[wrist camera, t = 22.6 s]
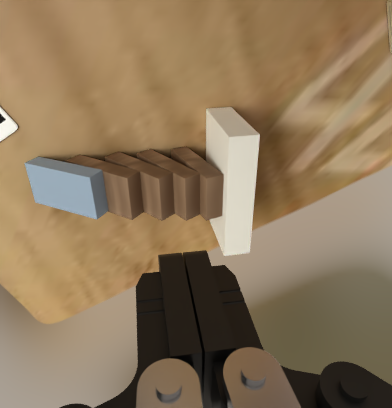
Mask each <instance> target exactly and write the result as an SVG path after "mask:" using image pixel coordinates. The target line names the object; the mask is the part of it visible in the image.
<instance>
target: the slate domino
mask: <svg viewBox="0 0 392 408" xmlns="http://www.w3.org/2000/svg"><path fill="white" fill-rule="evenodd" d="M25 166H26V170H27V174H28V177H29V181H30V184H31V188H32V192H33V195H34V199H35V202H36V203H40V204H43V205H47V206H50V207H54V208H58V209H61V210H65V211H69V212H72V213H76V214H79V215H83V216H87V217H90V218H94V219H98V218H100V217H101V216H102V215H104V214H105V213H106V212H107V211H109V210H108V204H107V197H106V191H105V185H104V178H103V172H102V170H100V169H95V168H91V167H86V166H81V165H76V164H72V163H67V162H62V161H57V160H53V159H48V158H43V157H37V158H34V159H32V160H30V161H28V162H26V163H25Z"/></svg>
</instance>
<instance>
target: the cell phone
mask: <svg viewBox="0 0 392 408" xmlns="http://www.w3.org/2000/svg"><path fill="white" fill-rule="evenodd" d="M17 129H18V125H17V124H16V122H15V121H14V120H13V119H12V118H11V117H10V116H9V115H8V114H7V113H6V112H5V111H4V110H3V109H2V108H1V106H0V142H1V141H2V140H3V139H5V138H6V137H8V136H9V135H11V134H12V133H14V132H15V131H16V130H17Z"/></svg>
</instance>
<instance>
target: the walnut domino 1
mask: <svg viewBox="0 0 392 408" xmlns="http://www.w3.org/2000/svg"><path fill="white" fill-rule="evenodd" d="M66 162H67V163H72V164H76V165H81V166H86V167H91V168H95V169H100V170H102V172H103V178H104V185H105V191H106V197H107V204H108V210H109V211H108V212H111V213H114V214H117V215H120V216H122V217H125V218H128V219H131V220H133V219H134V218H136V217H137V216H138V215H140V214H141V213H143V212H144V209H143V199H142V189H141V179H140V171H138V170H134V169H130V168H127V167H123V166H119V165H116V164H112V163H108V162H105V161H101V160H97V159H94V158H90V157H87V156H83V155H77V156H75V157H73V158H70V159H68V160H66Z"/></svg>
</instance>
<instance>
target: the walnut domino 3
mask: <svg viewBox="0 0 392 408" xmlns="http://www.w3.org/2000/svg"><path fill="white" fill-rule="evenodd" d="M137 159H139V160H141V161H144V162H147V163H149V164H152V165H154V166H157V167H160V168H162V169H165V170H168V171H170V172H173V187H174V209H175V214H177V215H178V216H180V217H181V218H183V219H184V220H189V219H191V218H193V217H195V216H197V215H199V214H200V173H199V172H197V171H194V170H192V169H190V168H188V167H186V166H184V165H182V164H180V163H178V162H176V161H174V160H172V159H170V158H168V157H166V156H164V155H162V154H160V153H158V152H156V151H154V150H151V149H150V150H146V151H143V152H140V153H137Z"/></svg>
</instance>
